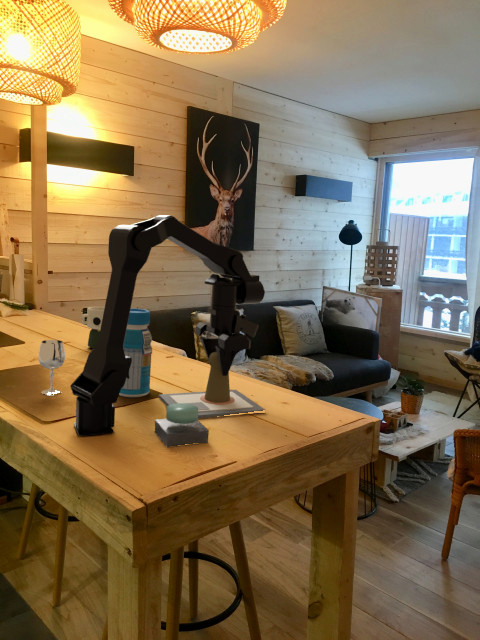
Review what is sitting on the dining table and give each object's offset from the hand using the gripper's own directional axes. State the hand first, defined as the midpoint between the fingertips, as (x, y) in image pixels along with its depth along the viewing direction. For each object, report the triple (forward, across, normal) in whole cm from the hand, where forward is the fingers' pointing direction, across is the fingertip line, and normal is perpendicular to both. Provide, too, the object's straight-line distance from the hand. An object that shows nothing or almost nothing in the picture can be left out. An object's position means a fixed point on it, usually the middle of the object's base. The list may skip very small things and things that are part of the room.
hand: (219, 371), depth 125 cm
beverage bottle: (+8, +12, +17) cm, 22 cm away
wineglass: (+8, +16, +35) cm, 39 cm away
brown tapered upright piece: (+7, 0, 0) cm, 7 cm away
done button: (+4, -18, +15) cm, 24 cm away
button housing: (+8, -18, +15) cm, 25 cm away
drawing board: (+8, -1, +2) cm, 8 cm away
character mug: (+8, +62, +16) cm, 64 cm away
